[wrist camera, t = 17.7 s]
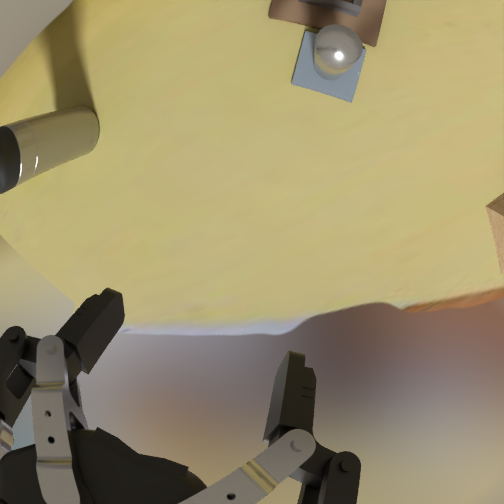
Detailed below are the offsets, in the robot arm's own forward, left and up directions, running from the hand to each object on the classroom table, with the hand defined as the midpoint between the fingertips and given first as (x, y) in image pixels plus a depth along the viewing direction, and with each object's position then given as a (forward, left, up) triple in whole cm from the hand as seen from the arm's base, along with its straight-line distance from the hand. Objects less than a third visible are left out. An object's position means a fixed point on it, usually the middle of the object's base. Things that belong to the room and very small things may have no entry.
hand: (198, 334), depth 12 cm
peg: (+3, +16, -30) cm, 34 cm away
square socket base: (+1, +28, -30) cm, 41 cm away
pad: (+3, +16, -30) cm, 34 cm away
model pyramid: (+45, +9, -31) cm, 55 cm away
